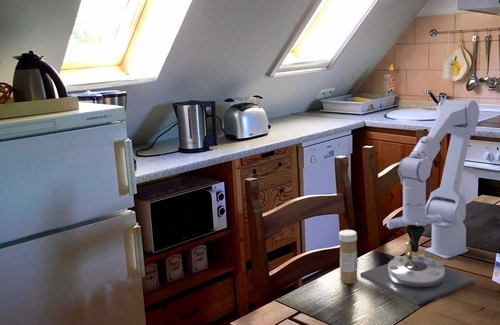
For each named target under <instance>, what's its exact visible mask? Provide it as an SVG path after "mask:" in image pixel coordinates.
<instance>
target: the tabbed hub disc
mask: <svg viewBox="0 0 500 325" xmlns="http://www.w3.org/2000/svg"><path fill="white" fill-rule="evenodd" d="M387 264H388V276H389V278H390V279H391V280H393V281H394V282H396V283H399V284H401V285H405V286H410V287H431V286H435V285H438V284H440V283H442V282H443V281H444V278H445V266H444V265H445V263H444V262H443V261H442V260H437V259H434V258H432V257H427V256H426V255H425V253H418V255H416V256H413V252H412V242H411V241H410V240H408V241H405V255H404V256H401V255H399V254H397V255H395V256H394V258H392V259H391V260H389V262H388V263H387Z"/></svg>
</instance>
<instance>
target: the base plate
mask: <svg viewBox="0 0 500 325" xmlns="http://www.w3.org/2000/svg"><path fill="white" fill-rule="evenodd" d="M412 256H417V255H415V254H414V255H413V254H412ZM444 267H445V266H444ZM359 274H360V276H359V277H360V278H363V279H365V280H366V279H367V281H368V280H369V282H370V281H371V282H370V283H372V282H373V283H372V284H375V285H377V286H378V287H380V288H383V289H384V290H387V291H389V292H390V293H392V294H394V295H396V296H398V297H400V298H402V299H405V300H406V301H408V302H410V303H411V304H414V305H416V306H420V305H422V304H425V303H427V302H429V301H432V300H434V299H437V298H441V297H442V296H445V295H448V294H449V293H452V292H455V291H457V290H460V289H463V288H465V287H467V286H470V285H472V284H475V278H472V277H470V276H467V275H466V274H463V273H460V272H458V271H455V270H453V269H451V268H447V267H445V278H444V281H443V282H442V283H440V284H438V285H435V286H431V287H410V286H405V285H401V284H399V283H396V282H394V281H393V280H391V279H390V278H389V276H388V263H386V264H383V265H380V266H378V267H373V268H371V269H368V270H365V271H362V272H359Z"/></svg>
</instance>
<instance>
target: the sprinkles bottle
mask: <svg viewBox="0 0 500 325" xmlns="http://www.w3.org/2000/svg"><path fill="white" fill-rule="evenodd" d="M338 240H339V269H340V279H339V280H340V281H341V282H342V283H344V284H354V283H356V282H357V281H358V251H357V250H358V249H357V241H358V234H357V231H355V230H353V229H344V230H340V231H339V232H338Z"/></svg>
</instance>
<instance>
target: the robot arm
mask: <svg viewBox="0 0 500 325" xmlns="http://www.w3.org/2000/svg"><path fill="white" fill-rule="evenodd" d="M479 117H480V109H479V104H478V102H477V101H476V100H473V99H471V100H465V99H464V100H463V99H462V100H461V99H460V100H459V99H446V98H443V99H441V100H440V101H439V103H438V104H437V107H436V119H435V121H434V122H433V125H432V126H431V128H430V130H429V133H428V134H427V135H425V136H423V137H421V138H420V139H419V141H418V142H417V144H416V145H415V147H414V148H413V150H412V151H411V152H410V154H409V155H408V156H406V157H404V158H402V159H401V160H400V162H399V166H398V168H397V173H398V176H399V178H400V184H401V185H402V215H401V216H399V217H395V218H392V219H390V218H389V219H386V228H388V229H389V230H392V229H394V228H395V229H396V228H402V227H404V229H405V231H406V233H407V235H408V237H409V241H411V242H412V253H418V252H419V242H420V239H421V237H422V236H423V234H424V233H425V230H426V228H425V226H424V225H431V246H430V247H427V248H425V249H424V251H425V252H427V253H430V254H433V255H434V256H438V257H440V258H442V259H450V258H453V257H456V256H458V255H461V254H464V253H467V252H468V251H469V249H468V248H466V247H467V227H466V225H465V224H464V221H465V219H466V214H467V207H466V205H467V199H466V198H465V197H464V195H463V194H462V193H461V192H460V191H459V190H460V187H461V186H460V185H461V181H462V177H463V171H464V167H465V162H466V157H467V152H468V148H469V144H470V139H471V135H472V134H473V133H474V132H476V130H477V127H478V126H477V125H478V123H479ZM448 132H450V134H451V135H450V140H449V145H448V149H447V154H446V158H445V163H444V166H443V172H442V178H441V180H440V185H439V187H438V188H437V189H435V190H433V191H431V192H430V194H429V198H428V200H427V202H426V199H427V198H426V197H427V196H426V194H427V193H426V191H427V189H426V186H427V185H426V184H427V180H428V178H430V175H431V171H432V168H433V162H434V159H435V158H436V156H437V155H438V153H439V152H440V150H441V144H440V142H441V141H442V140H443V139H444V137H445V136H446V135H447V133H448Z"/></svg>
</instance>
